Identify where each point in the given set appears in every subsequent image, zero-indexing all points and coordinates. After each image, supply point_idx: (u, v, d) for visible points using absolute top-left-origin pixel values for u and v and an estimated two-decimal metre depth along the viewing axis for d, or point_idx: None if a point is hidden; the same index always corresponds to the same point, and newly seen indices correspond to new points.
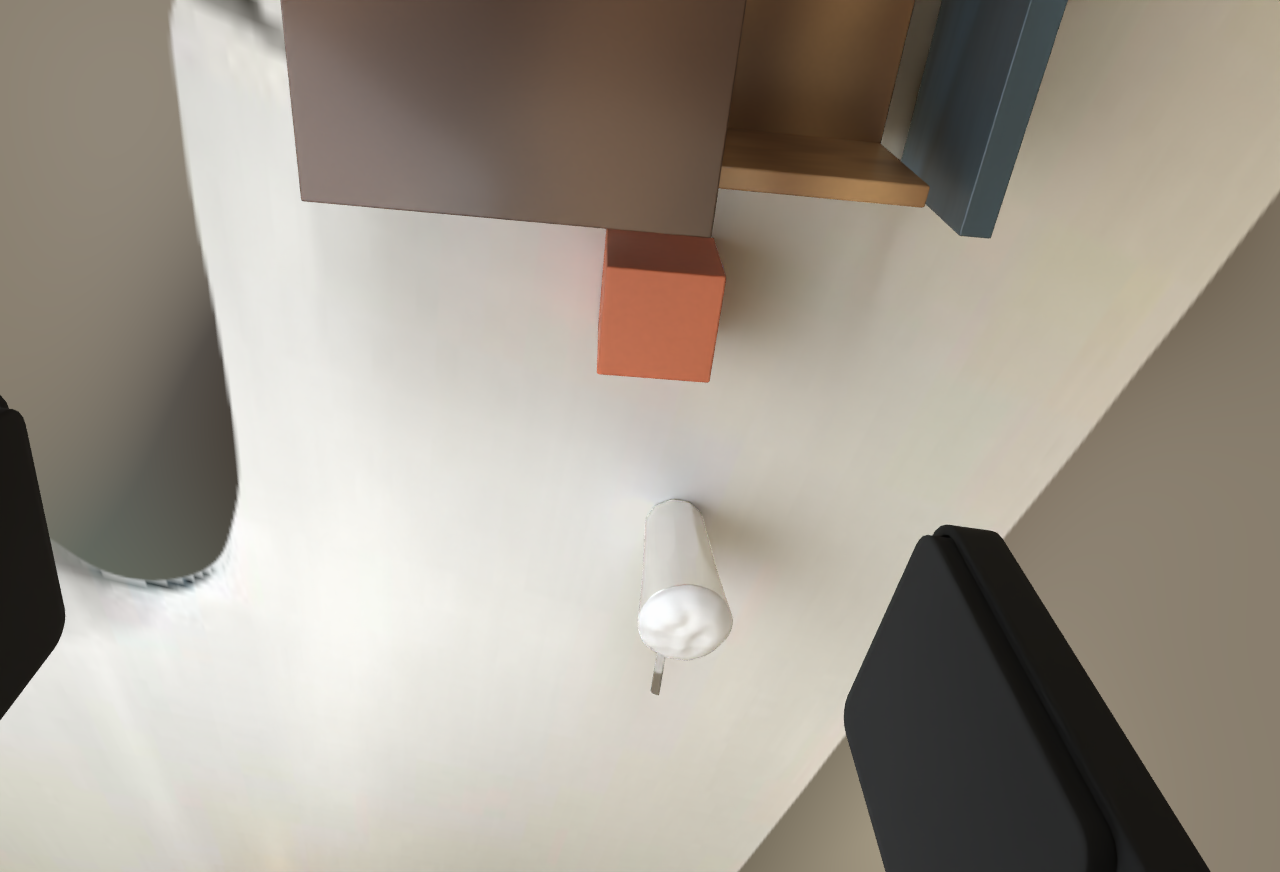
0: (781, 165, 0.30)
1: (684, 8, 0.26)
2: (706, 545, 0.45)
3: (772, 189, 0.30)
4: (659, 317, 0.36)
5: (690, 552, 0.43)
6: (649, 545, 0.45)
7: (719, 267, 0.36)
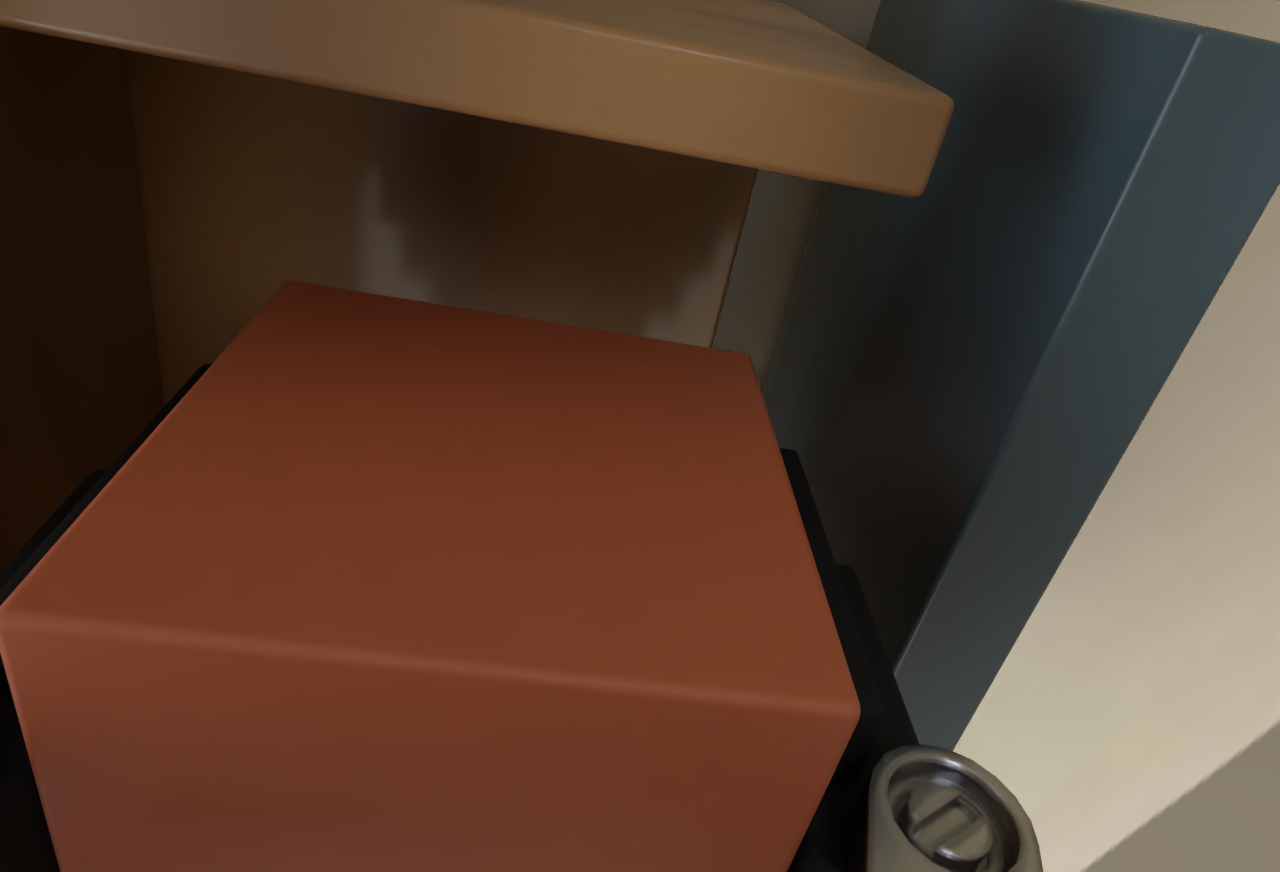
0: None
1: None
2: None
3: None
4: None
5: None
6: None
7: (803, 594, 0.06)
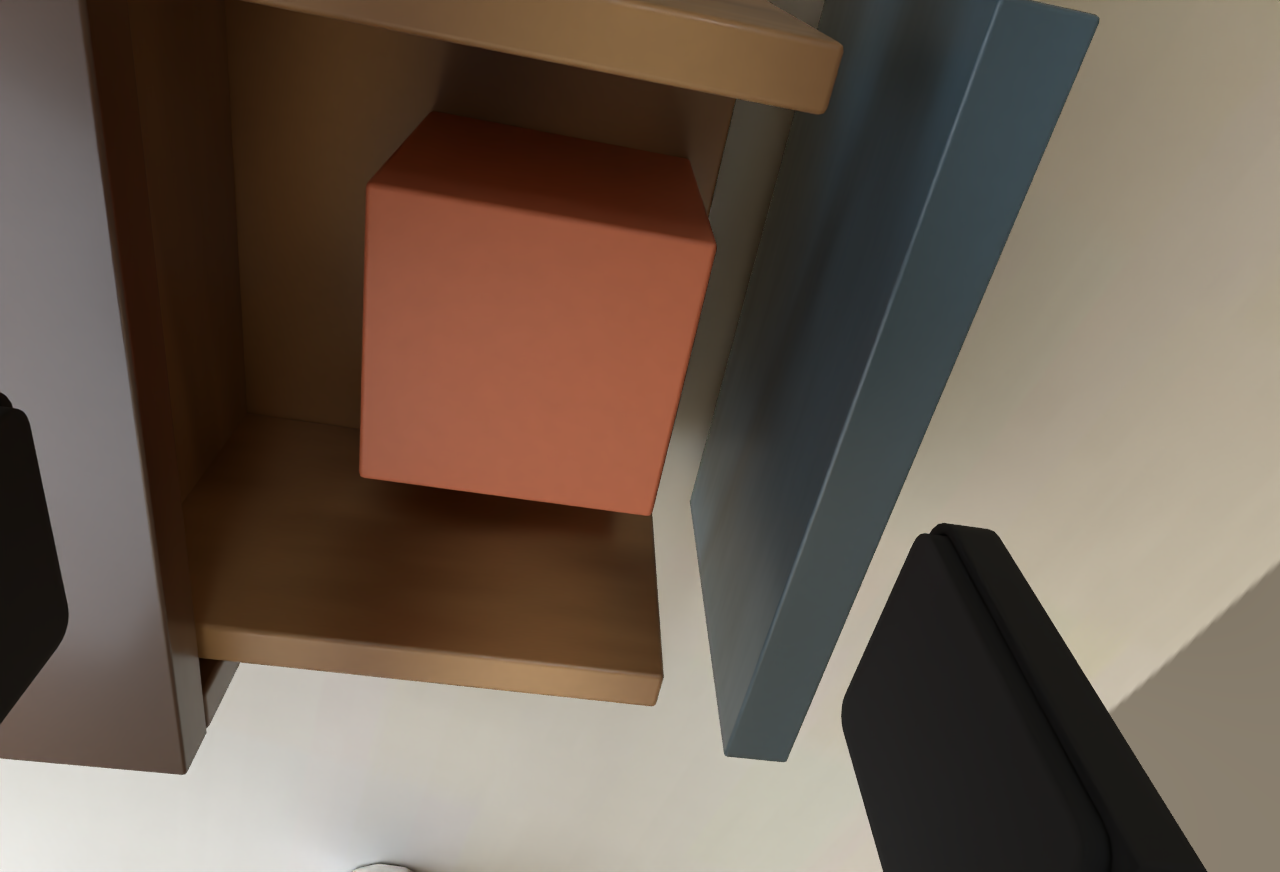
0: (370, 607, 0.15)
1: None
2: None
3: (336, 668, 0.14)
4: (525, 344, 0.13)
5: None
6: None
7: (698, 219, 0.13)
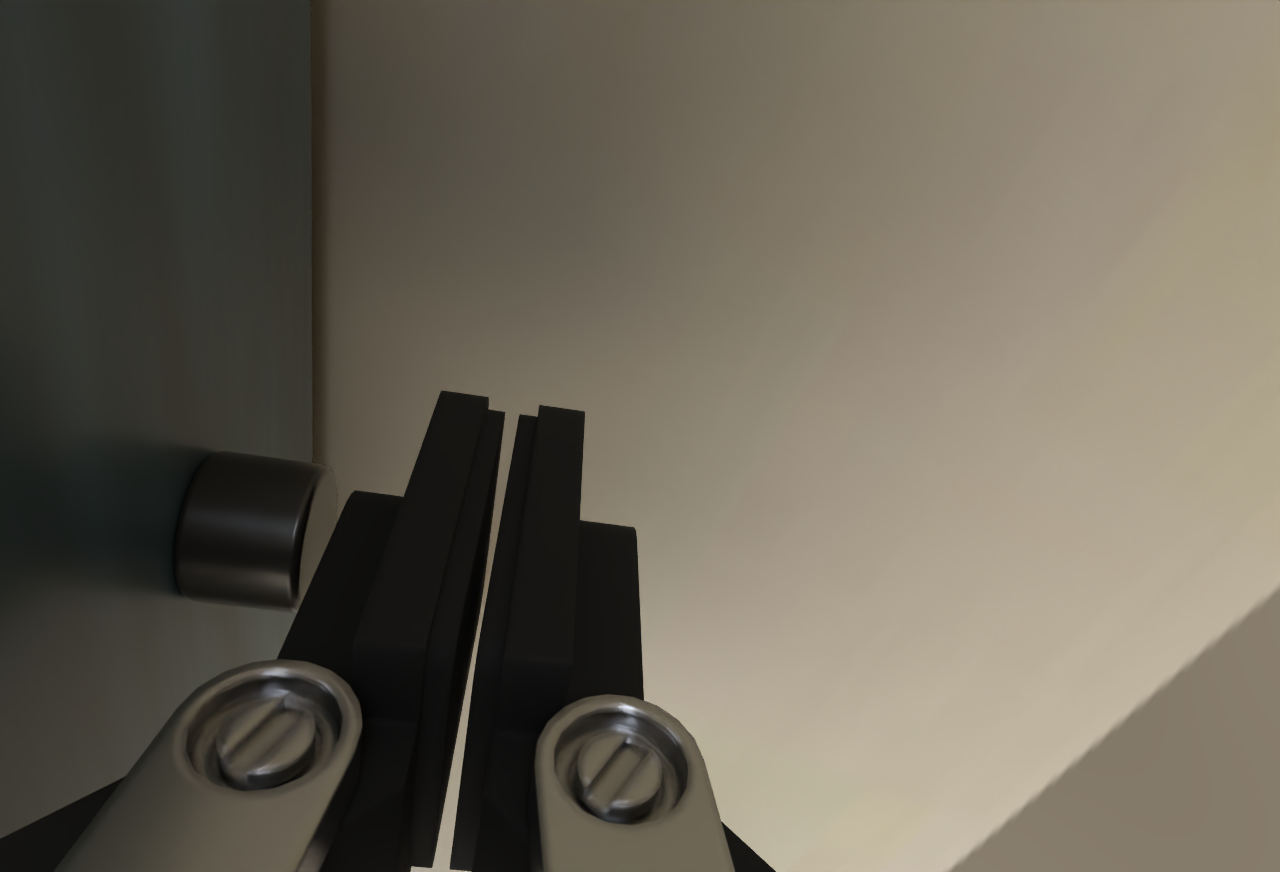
0: None
1: None
2: None
3: None
4: None
5: None
6: None
7: None
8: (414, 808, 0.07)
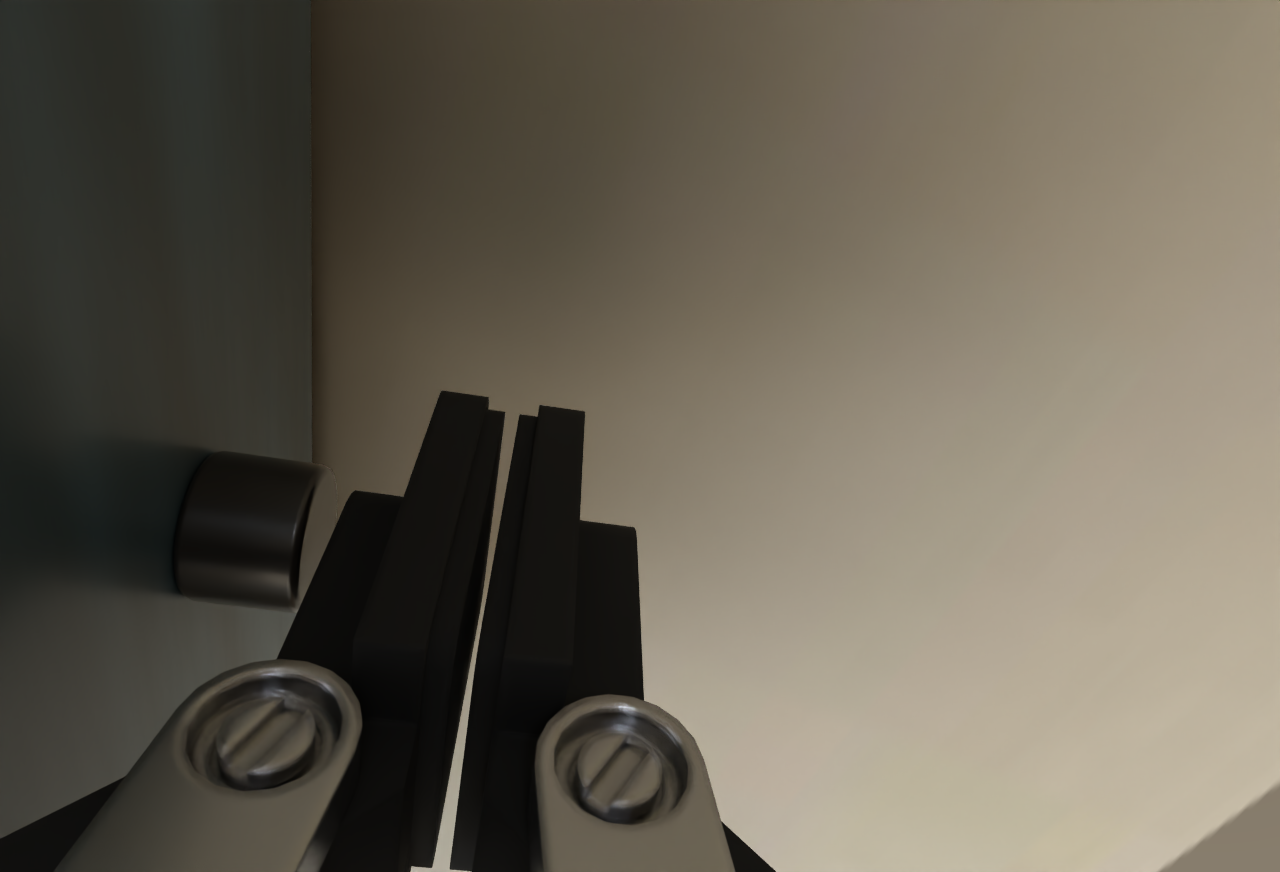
0: None
1: None
2: None
3: None
4: None
5: None
6: None
7: None
8: (414, 808, 0.07)
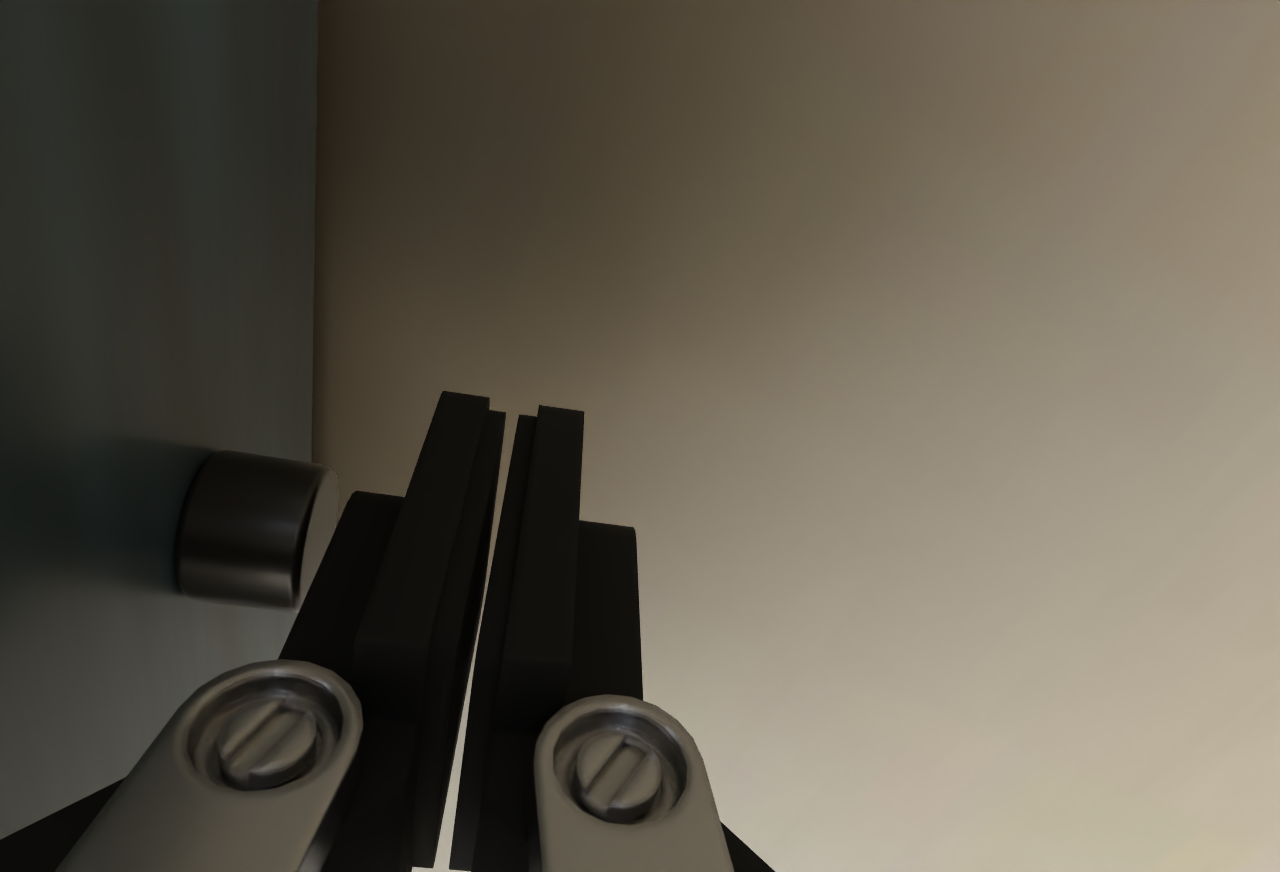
0: None
1: None
2: None
3: None
4: None
5: None
6: None
7: None
8: (415, 809, 0.07)
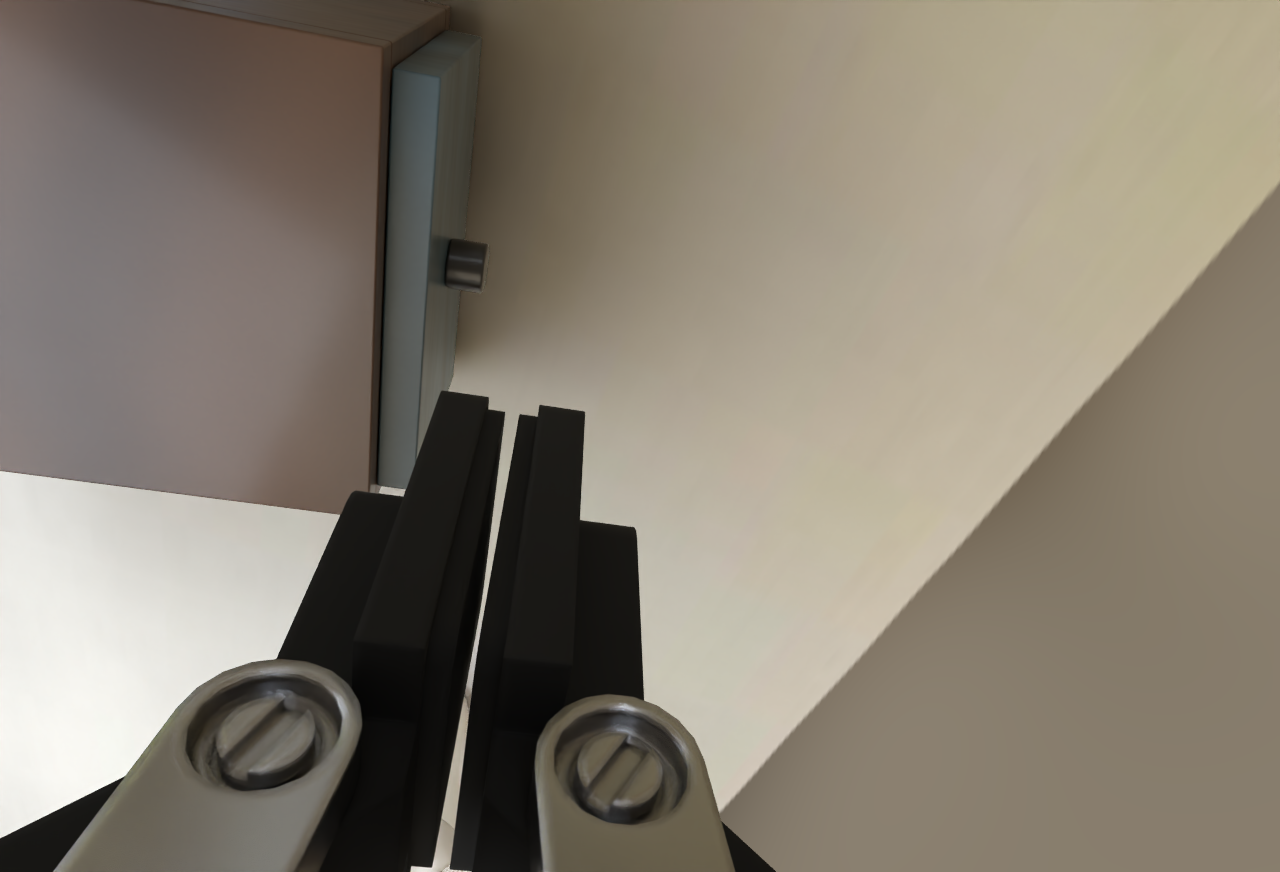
0: None
1: (305, 304, 0.23)
2: None
3: None
4: None
5: None
6: None
7: None
8: (414, 808, 0.07)
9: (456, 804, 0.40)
